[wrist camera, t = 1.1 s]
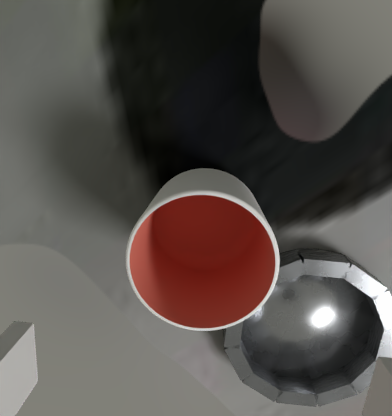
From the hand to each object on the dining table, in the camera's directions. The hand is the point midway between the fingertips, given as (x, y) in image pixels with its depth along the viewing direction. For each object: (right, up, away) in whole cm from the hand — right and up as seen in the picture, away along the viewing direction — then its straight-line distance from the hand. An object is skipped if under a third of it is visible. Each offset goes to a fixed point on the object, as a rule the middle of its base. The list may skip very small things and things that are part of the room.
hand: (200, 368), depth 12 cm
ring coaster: (+11, -5, +20) cm, 24 cm away
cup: (+1, +5, +18) cm, 19 cm away
